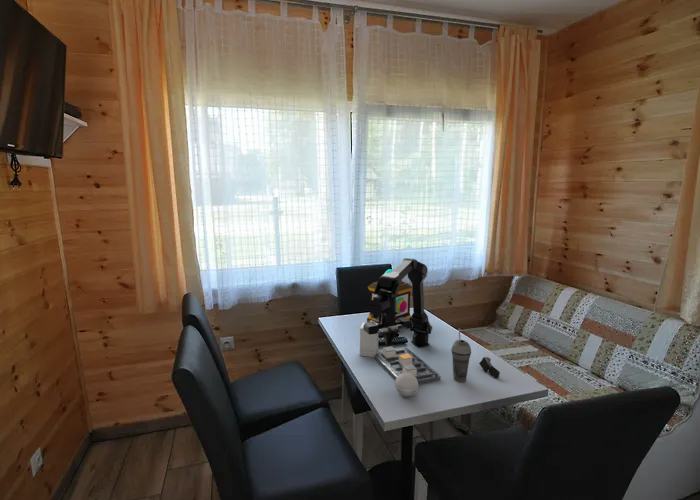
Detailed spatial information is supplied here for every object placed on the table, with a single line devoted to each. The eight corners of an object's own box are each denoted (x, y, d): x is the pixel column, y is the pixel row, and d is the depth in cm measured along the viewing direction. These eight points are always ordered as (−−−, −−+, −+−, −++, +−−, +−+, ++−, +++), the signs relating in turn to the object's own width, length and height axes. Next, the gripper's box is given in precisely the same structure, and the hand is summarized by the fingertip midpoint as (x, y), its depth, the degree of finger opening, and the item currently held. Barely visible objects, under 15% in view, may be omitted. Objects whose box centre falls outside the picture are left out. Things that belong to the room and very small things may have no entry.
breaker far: (391, 353, 156) (391, 346, 155) (395, 357, 153) (395, 349, 152) (383, 355, 155) (383, 347, 154) (386, 359, 151) (386, 351, 151)
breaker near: (411, 372, 140) (411, 364, 140) (416, 376, 137) (416, 368, 136) (402, 374, 139) (402, 365, 138) (407, 378, 136) (407, 370, 135)
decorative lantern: (363, 323, 196) (363, 269, 191) (387, 315, 209) (388, 263, 204) (391, 334, 181) (392, 275, 176) (416, 324, 194) (417, 269, 189)
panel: (407, 352, 161) (407, 347, 161) (440, 379, 138) (440, 373, 138) (374, 358, 156) (374, 352, 155) (402, 387, 133) (402, 381, 132)
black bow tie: (496, 381, 142) (503, 373, 138) (491, 382, 141) (498, 375, 137) (483, 362, 148) (489, 354, 144) (478, 363, 147) (485, 355, 143)
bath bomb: (404, 386, 134) (405, 365, 133) (422, 395, 128) (423, 373, 127) (390, 394, 129) (390, 373, 127) (408, 404, 123) (408, 382, 121)
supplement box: (376, 357, 157) (376, 329, 155) (359, 355, 158) (359, 328, 156) (378, 350, 164) (378, 323, 162) (362, 348, 165) (362, 322, 163)
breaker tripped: (407, 361, 149) (407, 353, 149) (412, 365, 146) (412, 357, 145) (398, 363, 148) (399, 355, 147) (403, 367, 144) (403, 358, 144)
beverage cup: (466, 386, 133) (469, 334, 130) (447, 381, 137) (449, 330, 134) (471, 377, 140) (474, 328, 136) (452, 372, 143) (455, 324, 140)
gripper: (400, 299, 151) (399, 335, 153) (358, 304, 144) (358, 341, 147) (413, 307, 140) (412, 345, 143) (369, 313, 134) (369, 353, 137)
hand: (387, 346), depth 143 cm, fingers closed
